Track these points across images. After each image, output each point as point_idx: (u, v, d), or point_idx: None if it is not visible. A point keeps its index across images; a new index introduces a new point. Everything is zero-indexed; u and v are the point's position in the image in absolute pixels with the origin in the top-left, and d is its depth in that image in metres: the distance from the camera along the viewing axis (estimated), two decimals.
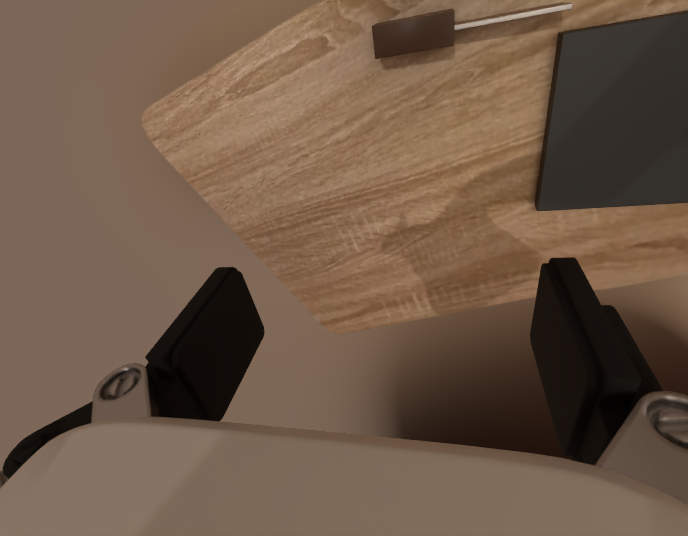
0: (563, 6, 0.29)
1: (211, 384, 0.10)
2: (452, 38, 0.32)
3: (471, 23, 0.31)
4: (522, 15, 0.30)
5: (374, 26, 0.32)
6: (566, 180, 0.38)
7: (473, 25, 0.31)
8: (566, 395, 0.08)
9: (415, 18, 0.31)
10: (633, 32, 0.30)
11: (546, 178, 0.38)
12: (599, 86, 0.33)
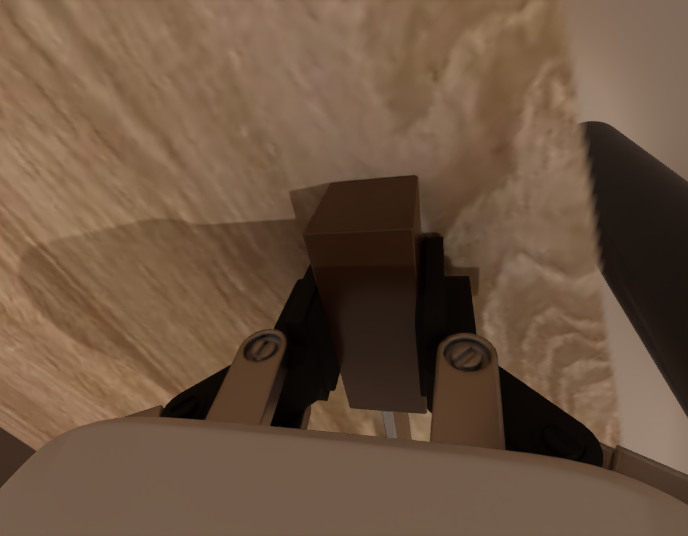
0: None
1: (330, 353, 0.10)
2: (364, 407, 0.12)
3: (394, 435, 0.13)
4: None
5: (410, 236, 0.08)
6: None
7: (389, 436, 0.13)
8: None
9: None
10: None
11: None
12: None
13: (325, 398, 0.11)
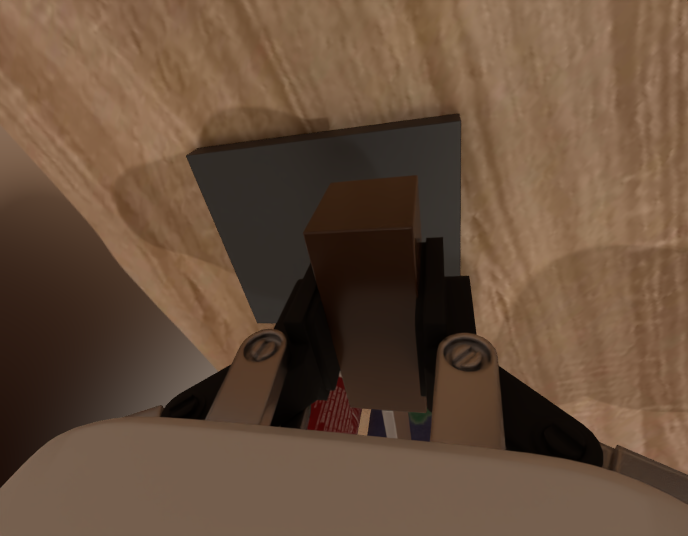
0: None
1: (330, 353, 0.10)
2: (364, 406, 0.12)
3: (394, 434, 0.13)
4: None
5: (410, 235, 0.08)
6: (244, 185, 0.24)
7: (389, 436, 0.13)
8: None
9: None
10: (447, 212, 0.22)
11: (240, 155, 0.23)
12: None
13: (324, 398, 0.11)
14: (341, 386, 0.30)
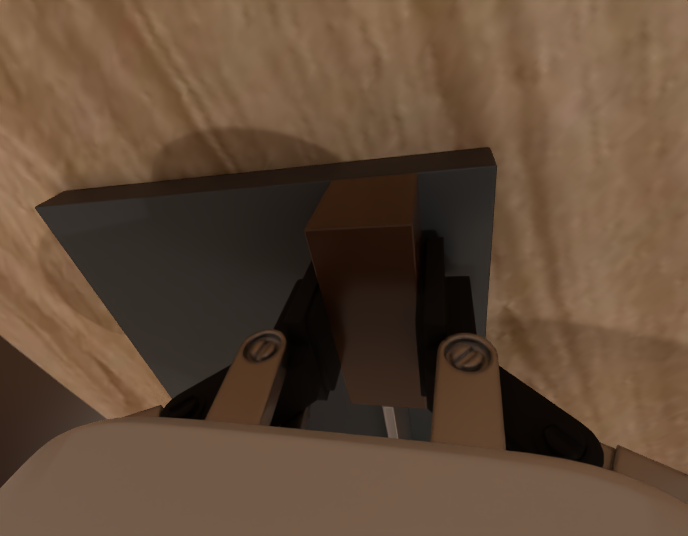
0: None
1: (329, 353, 0.10)
2: (365, 402, 0.12)
3: (394, 430, 0.13)
4: None
5: (410, 231, 0.08)
6: (134, 254, 0.15)
7: (389, 432, 0.13)
8: None
9: None
10: None
11: (118, 210, 0.14)
12: None
13: (324, 398, 0.11)
14: None
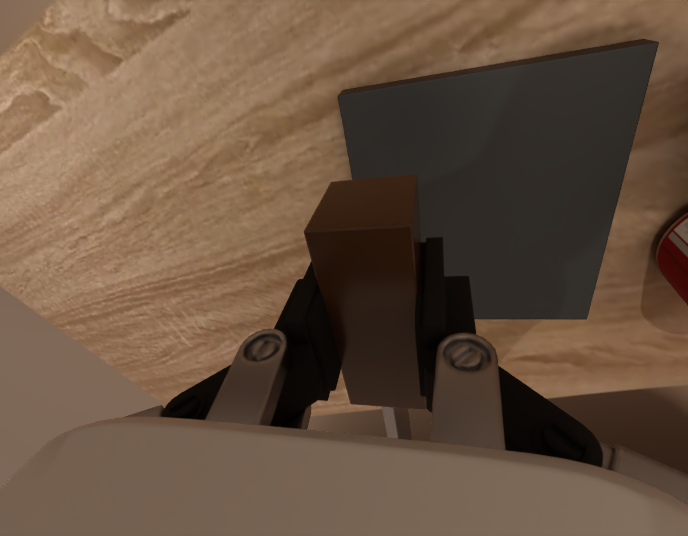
0: None
1: (330, 353, 0.10)
2: (364, 403, 0.12)
3: (394, 431, 0.13)
4: None
5: (409, 233, 0.08)
6: None
7: (389, 432, 0.13)
8: None
9: None
10: (436, 94, 0.19)
11: None
12: (410, 168, 0.22)
13: (325, 398, 0.11)
14: None
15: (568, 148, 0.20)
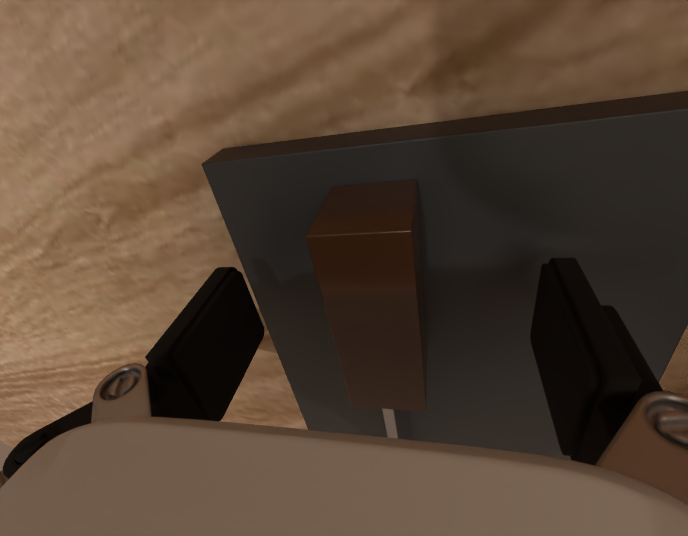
0: None
1: (211, 384, 0.10)
2: (365, 405, 0.13)
3: (394, 433, 0.13)
4: None
5: (409, 238, 0.08)
6: (344, 415, 0.19)
7: (389, 434, 0.13)
8: (566, 395, 0.08)
9: (418, 346, 0.10)
10: (366, 170, 0.11)
11: (306, 407, 0.19)
12: None
13: None
14: None
15: (598, 266, 0.11)
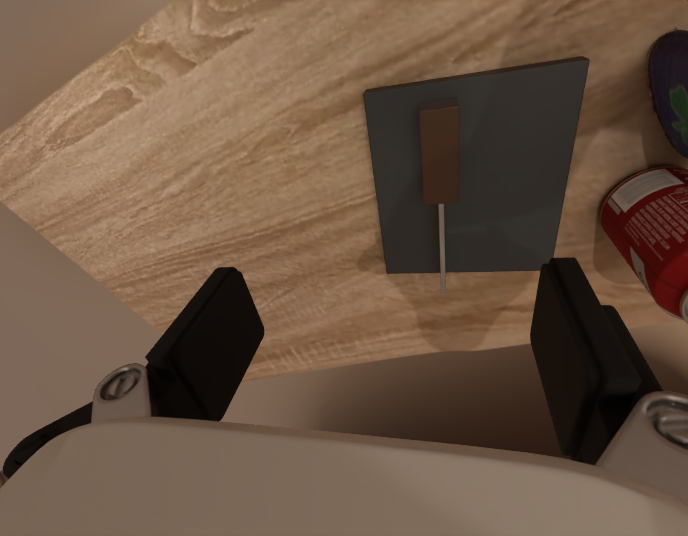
0: (444, 287, 0.33)
1: (211, 384, 0.10)
2: (431, 203, 0.28)
3: (443, 220, 0.29)
4: (442, 260, 0.31)
5: (458, 109, 0.24)
6: (408, 244, 0.34)
7: (440, 221, 0.29)
8: (566, 395, 0.08)
9: (457, 162, 0.26)
10: (436, 93, 0.26)
11: (386, 241, 0.35)
12: (415, 149, 0.29)
13: None
14: (640, 208, 0.25)
15: (531, 134, 0.27)
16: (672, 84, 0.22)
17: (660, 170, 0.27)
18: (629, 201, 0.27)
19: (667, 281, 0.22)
